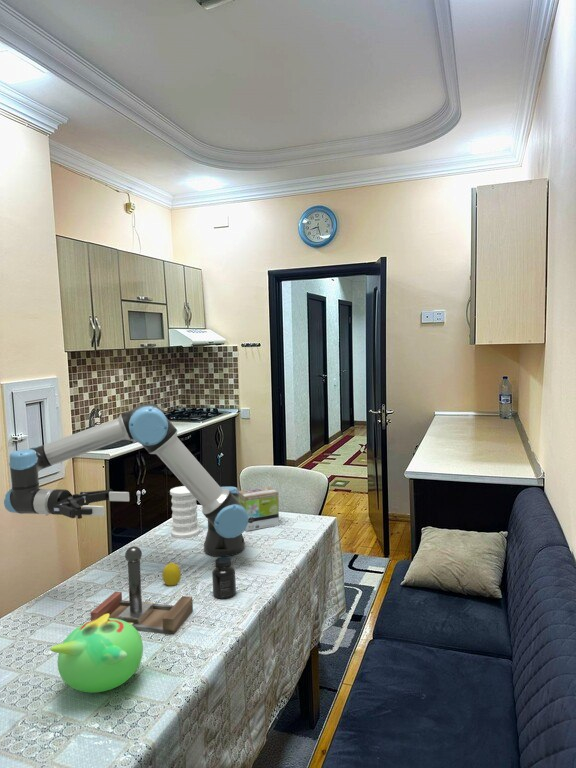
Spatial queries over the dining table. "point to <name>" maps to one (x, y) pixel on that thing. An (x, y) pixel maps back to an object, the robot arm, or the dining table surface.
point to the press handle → (135, 590)
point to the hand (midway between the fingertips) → (116, 503)
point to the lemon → (171, 574)
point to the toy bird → (99, 654)
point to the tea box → (260, 507)
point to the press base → (158, 621)
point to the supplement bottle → (224, 579)
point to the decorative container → (184, 513)
